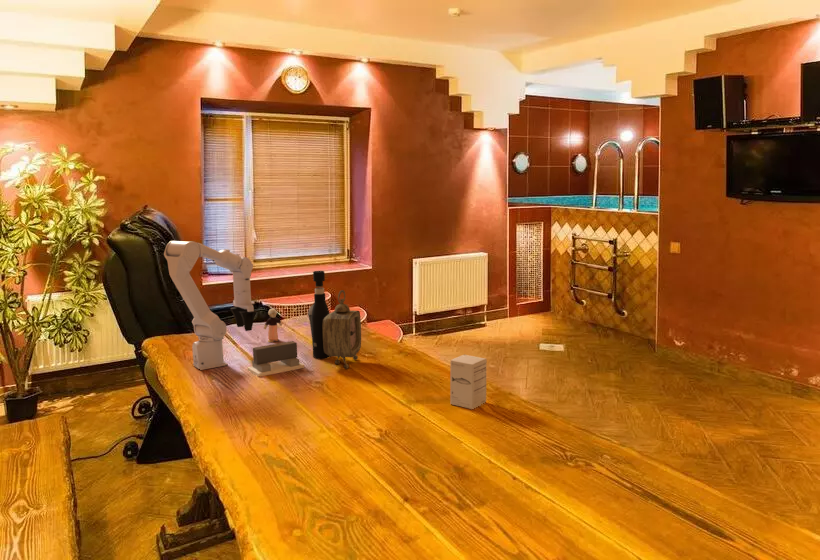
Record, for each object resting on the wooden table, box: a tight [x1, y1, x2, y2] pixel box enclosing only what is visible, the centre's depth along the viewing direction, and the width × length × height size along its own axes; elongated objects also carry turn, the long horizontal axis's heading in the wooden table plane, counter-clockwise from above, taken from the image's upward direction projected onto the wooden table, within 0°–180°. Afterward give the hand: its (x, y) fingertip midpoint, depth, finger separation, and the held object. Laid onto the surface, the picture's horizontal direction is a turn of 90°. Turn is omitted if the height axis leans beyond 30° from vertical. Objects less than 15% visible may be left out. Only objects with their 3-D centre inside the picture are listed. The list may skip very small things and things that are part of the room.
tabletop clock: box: [323, 290, 362, 370], centre depth 213 cm, size 14×9×25 cm, turn 168°
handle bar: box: [252, 340, 298, 365], centre depth 210 cm, size 14×3×5 cm, turn 125°
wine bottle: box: [311, 270, 332, 360], centre depth 223 cm, size 6×6×30 cm
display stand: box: [247, 357, 305, 377], centre depth 211 cm, size 16×9×3 cm, turn 125°
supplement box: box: [449, 354, 488, 410], centre depth 174 cm, size 7×7×13 cm
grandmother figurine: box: [263, 308, 283, 343], centre depth 248 cm, size 8×4×13 cm, turn 143°
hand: (244, 328), depth 228 cm, fingers open, 7 cm apart
